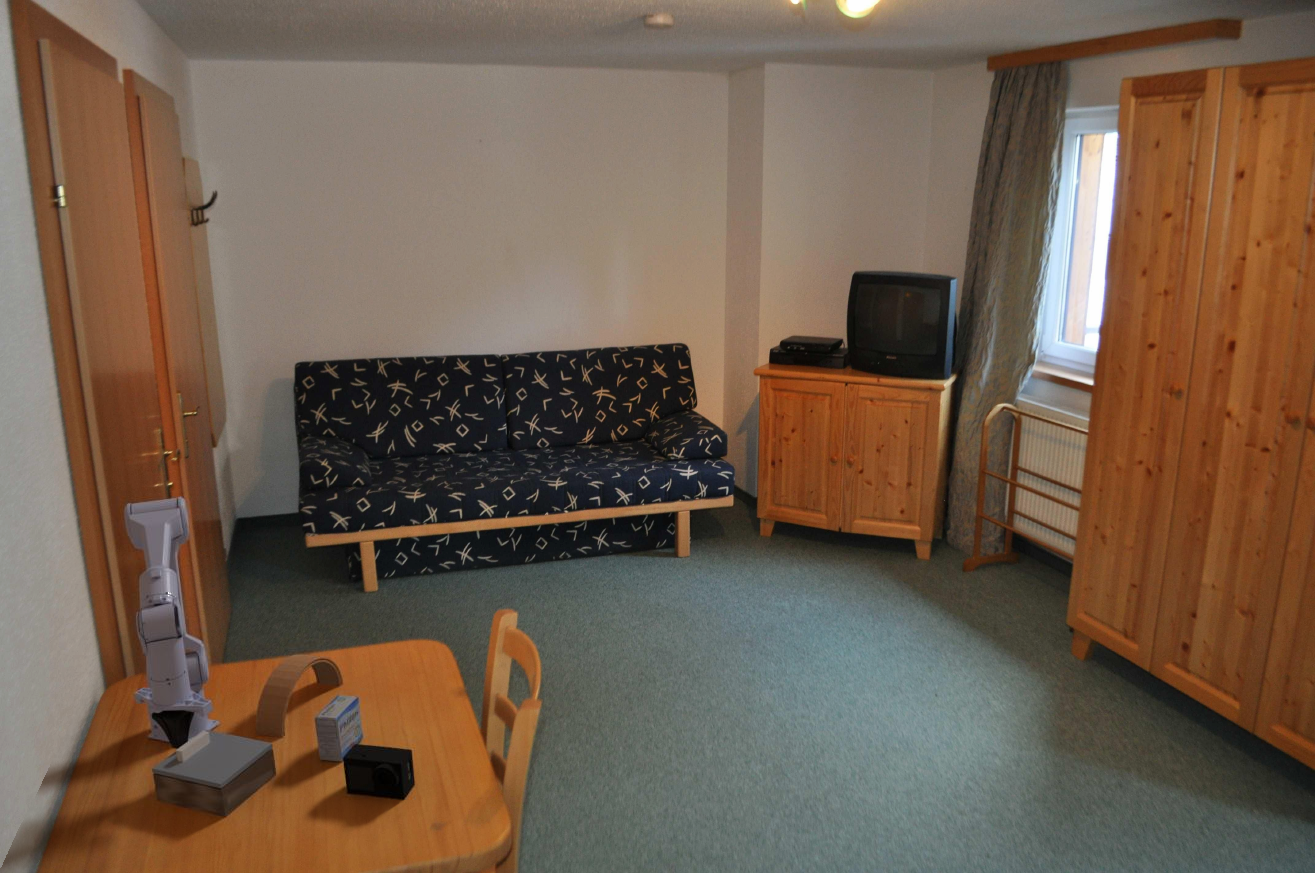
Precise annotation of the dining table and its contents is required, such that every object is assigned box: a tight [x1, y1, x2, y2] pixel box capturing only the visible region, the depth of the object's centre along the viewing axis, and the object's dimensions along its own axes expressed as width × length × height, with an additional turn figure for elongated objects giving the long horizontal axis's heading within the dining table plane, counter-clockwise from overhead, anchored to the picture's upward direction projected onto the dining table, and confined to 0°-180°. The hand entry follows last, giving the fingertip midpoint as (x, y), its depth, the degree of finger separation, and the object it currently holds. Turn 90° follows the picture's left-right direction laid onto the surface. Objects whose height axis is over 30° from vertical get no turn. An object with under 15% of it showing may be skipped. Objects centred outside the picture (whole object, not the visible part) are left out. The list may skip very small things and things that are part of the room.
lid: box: [151, 730, 274, 788], centre depth 162 cm, size 14×12×3 cm
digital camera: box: [342, 743, 416, 801], centre depth 161 cm, size 10×5×7 cm, turn 79°
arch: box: [255, 654, 344, 739], centre depth 187 cm, size 6×20×10 cm, turn 164°
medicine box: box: [314, 694, 364, 763], centre depth 173 cm, size 8×4×9 cm, turn 168°
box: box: [152, 748, 277, 818], centre depth 163 cm, size 14×12×5 cm
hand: (180, 745), depth 164 cm, fingers closed
